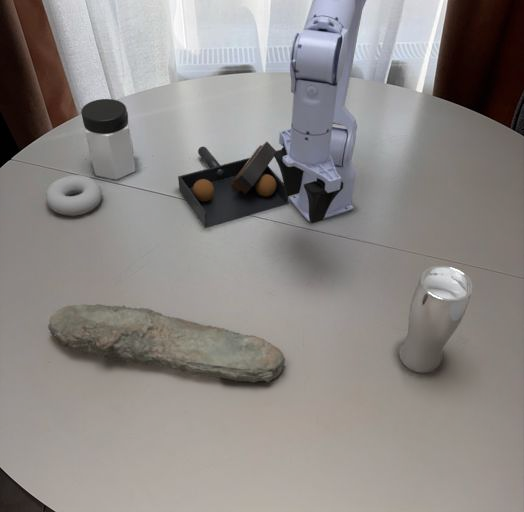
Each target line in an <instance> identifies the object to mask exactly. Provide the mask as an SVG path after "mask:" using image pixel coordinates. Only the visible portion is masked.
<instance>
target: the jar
mask: <svg viewBox="0 0 524 512" xmlns="http://www.w3.org/2000/svg"><path fill="white" fill-rule="evenodd" d="M80 114H81V118H82V122H83V126H84V132H85V138H86V141H87V142H86V143H87V145H88V150H89V156H90V158H91V163H92V168H93V171H94V176H95V177H101V178H105V179H109V180H110V179H111V180H115V181H117V180H120V179H122V178H125V177H126V176H129V175H131V174H134V173H135V172H136V171H137V169H136V163H135V156H134V155H135V151H134V145H133V140H132V134H131V131H130V126H129V113H128V109H127V106H126V105H125V104H124V103H123V102H121V101H119V100H117V99H113V98H101V99H95V100H91V101H89V102H87V103H86V104H85V105H83V106H82V107H81V112H80Z"/></svg>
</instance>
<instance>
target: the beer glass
mask: <svg viewBox="0 0 524 512" xmlns="http://www.w3.org/2000/svg"><path fill="white" fill-rule="evenodd" d="M473 285H474V284H473V282H472V279H470V277H469V276H468V275H467V273H465V272H464V271H462V270H460V269H458V268H456V267H453V266H451V265H450V266H449V265H444V264H442V265H440V264H439V265H433V266H430V267H428V268H426V269H424V270H423V272H422V273H421V275H420V278H419V280H418V283H417V285H416V287H415V290H414V292H413V296H412V298H411V303H410V306H409V311H408V325H407V326H408V327H407V335H406V338H405V340H404V342H403V343H402V344H401V346H400V348H399V349H398V357H399V360H400V362H401V364H403V366H404V367H406V368H407V369H409V370H410V371H412V372H415V373H419V374H427V373H429V374H430V373H432V372H434V371H436V370H437V369H438V368H439V366H440V365H441V362H442V357H443V350H444V347H445V346H446V344H447V343H448V341H449V340H450V338H451V337H452V336H453V334H454V333H455V332H456V330H457V329H458V327H459V326H460V324H461V322H462V320H463V318H464V315H465V314H466V311H467V308H468V305H469V302H470V298H471V294H472V292H473V290H474V289H473V288H474V286H473Z"/></svg>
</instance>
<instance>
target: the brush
mask: <svg viewBox="0 0 524 512" xmlns="http://www.w3.org/2000/svg"><path fill="white" fill-rule="evenodd" d="M276 151H277V150H276V149H275V148H274V147H273V146H272V145H271V144H270V143H269V142H268V141H265V142H264V143H263V144H261V145H258V147H257V148H256V149H255V150H254V152H253V153H252V154H251V155H250V157H249V158H250V159H249V160H248V161H247V163H246V164H245V165H244V167H243V168H242V169H241V171H240V172H239V173H238V175H237V176H236V177H235V176H234V177H235V178H234V180H233V181H232V182H233V183H232V184H231V186H232V187H233V188H234V189H235V190H236V191H237V192H238V193H239V192H240V191H242V192H243V193H244V194H245V193H247V192H248V191H249V190H250V188H251V187H253V185H254V184H255V183H256V181H257V180H258V178H259V177H260V176H261V174H262V173H263V171H264V170H265V169H266V167H267V166H269V164H270V163H271V162H272V160H273V159H275V157H274V152H276Z"/></svg>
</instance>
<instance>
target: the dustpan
mask: <svg viewBox="0 0 524 512" xmlns="http://www.w3.org/2000/svg"><path fill="white" fill-rule="evenodd" d="M197 153H198V155H199V157H200V158H201V159H202V161H203V162H204V163H205V165H206V166H207V167H208V168H205V169H201V170H197V171H194V172H190V173H186V174H182V175H178V176H177V180H178V189H179V190H178V191H179V192H180V194H181V195H182V197H183V198H184V199H185V202H187V204H188V205H189V207H190V208H191V209H192V211H193V212H194V214H195V215H196V216H197V218H198V219H199V221H200V222H201V224H202V225H203V226H204V228H205V229H207V228H210V227H214V226H217V225H220V224H223V223H227V222H230V221H233V220H238V219H241V218H244V217H248V216H251V215H255V214H257V213H262V212H264V211H268V210H271V209H274V208H278V207H281V206H285V205H288V204H289V199H290V196H287V195H286V193H285V188H284V183H283V180H282V179H281V178H279V175H277V174H276V173H275V172H274V170H272V168H271V167H270V166H269V165H268V166H267V167H266V169H265V170H264V171H263V173H262V174H261V175H263V174H268V175H271V176H272V177H273V178H274V179H275V181H276V190H275V192H274V193H273V194H272V195H270V196H262V195H260V194H259V193H258V192H257V191H256V188H255V184H254V185H253V187H251V188H250V190H249V191H248V192H247V193H245V194H244V193H243V192H242V191H240V192H239V193H238V192H237V191H236V190H235V189H234V188H233V187H232V186H231V184H232V183H233V182H232V181H233V180H234V178H235V177H236V176H237V175H238V173H239V172H240V171H241V169H242V168H243V167H244V165H245V164H246V163H247V161H248V160H249V159H250V157H248V158H247V157H246V158H243V159H238V160H236V161H232V162H228V163H224V164H220V162H219V161H218V160H217V159H216V158H215V157H214V155H213V154H212V153H211V152H210V150H209V149H208V148H207V147H206V146H200V147H199V148H198V150H197ZM201 179H206V180H208V181H210V182H211V183H212V184H213V186H214V195H213V197H212V198H211V199H210V200H209V201H206V202H202V201H199V200H197V199H196V198H195V196H194V195H193V186H194V184H195V183H196V182H197V181H198V180H201Z"/></svg>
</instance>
